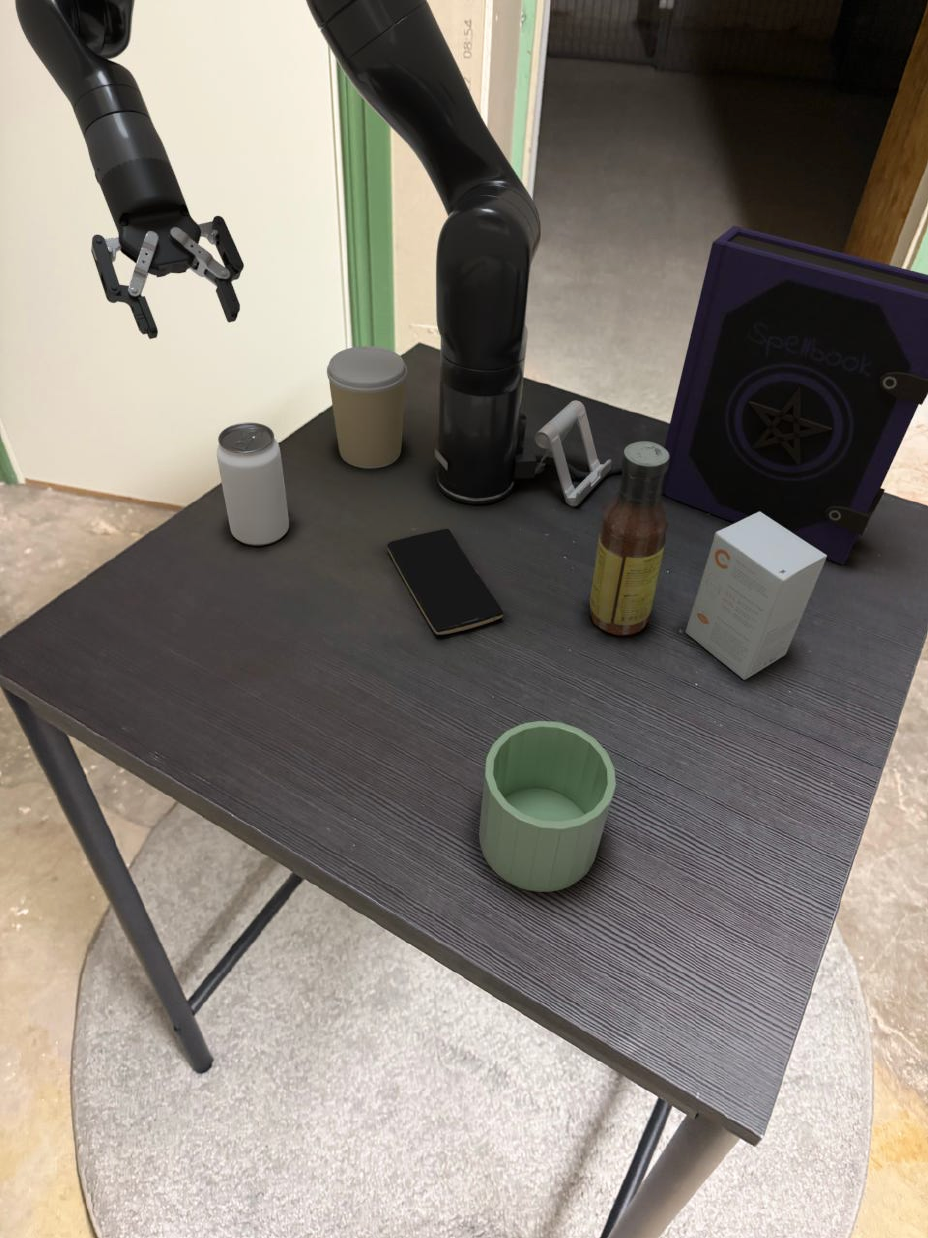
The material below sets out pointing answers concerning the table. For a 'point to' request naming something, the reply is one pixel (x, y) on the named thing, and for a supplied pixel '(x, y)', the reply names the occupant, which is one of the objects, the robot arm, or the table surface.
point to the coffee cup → (368, 404)
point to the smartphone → (444, 582)
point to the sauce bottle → (631, 543)
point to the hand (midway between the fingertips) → (194, 327)
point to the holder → (544, 805)
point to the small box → (753, 593)
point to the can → (253, 483)
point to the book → (797, 386)
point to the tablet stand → (552, 440)
